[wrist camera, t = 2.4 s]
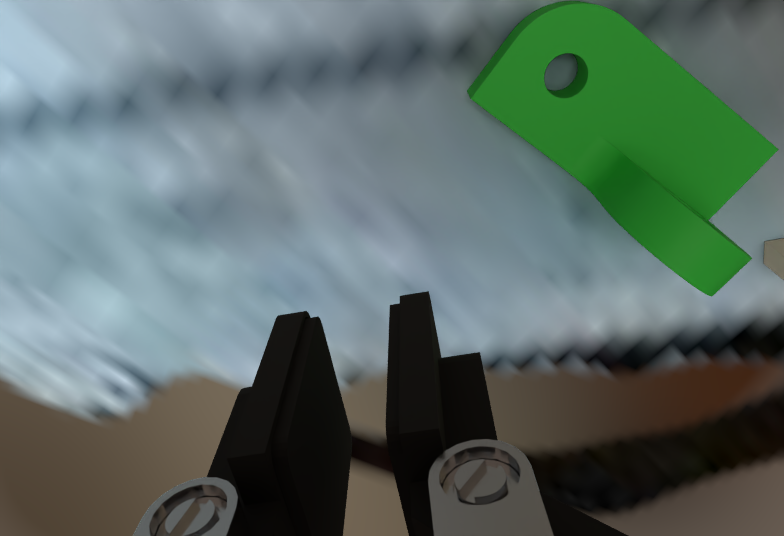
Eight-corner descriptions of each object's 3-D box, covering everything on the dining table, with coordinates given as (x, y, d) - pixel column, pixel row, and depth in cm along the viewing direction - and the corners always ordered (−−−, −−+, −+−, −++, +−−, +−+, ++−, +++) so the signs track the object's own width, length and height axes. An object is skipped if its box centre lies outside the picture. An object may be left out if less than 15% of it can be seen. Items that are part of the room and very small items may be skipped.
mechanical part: (755, 137, 30) (869, 194, 23) (660, 236, 32) (735, 317, 25) (556, -31, 27) (613, -28, 20) (466, 90, 29) (487, 132, 22)
